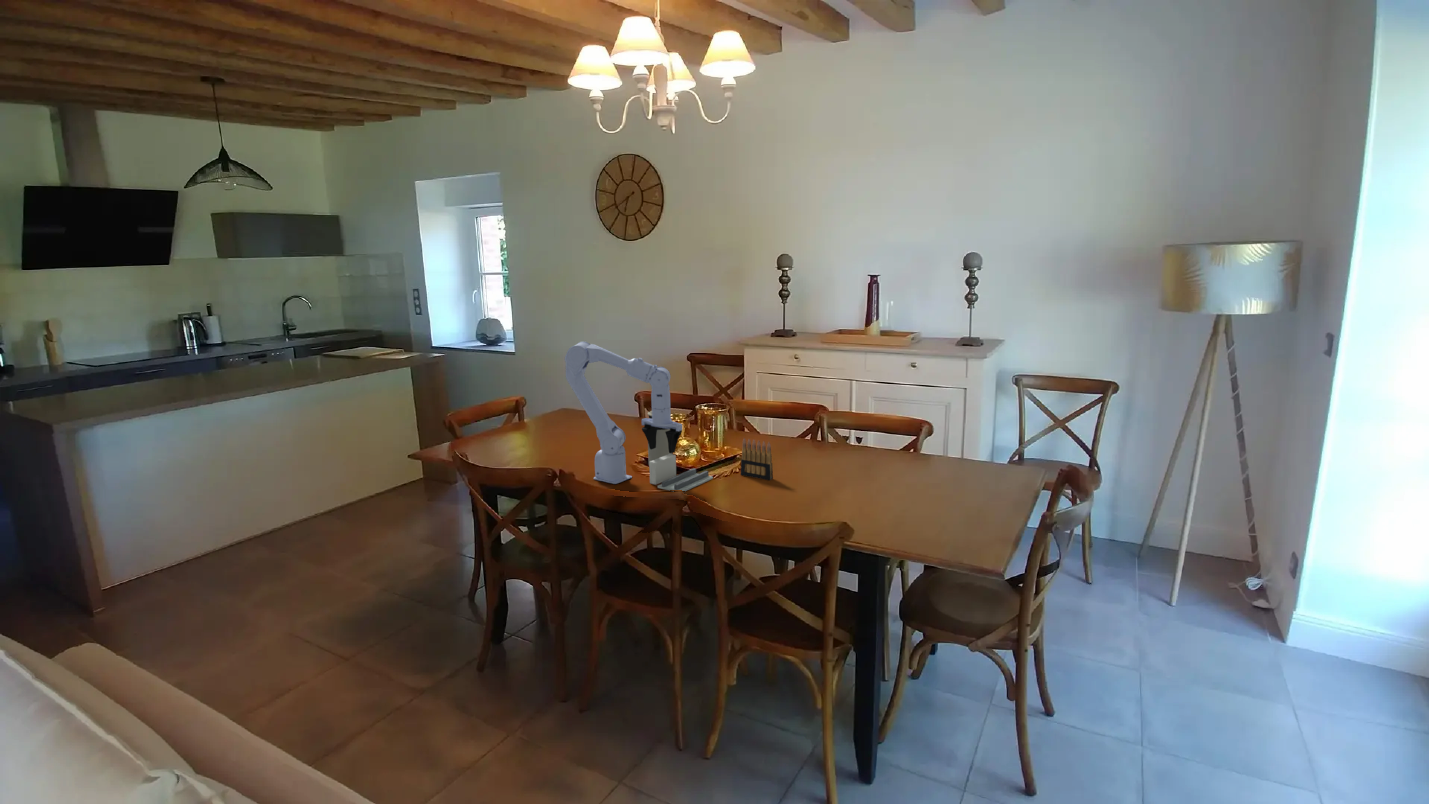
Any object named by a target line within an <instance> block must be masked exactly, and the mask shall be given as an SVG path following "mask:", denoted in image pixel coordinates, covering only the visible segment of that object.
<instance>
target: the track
mask: <svg viewBox="0 0 1429 804" xmlns="http://www.w3.org/2000/svg"><path fill="white" fill-rule="evenodd" d="M713 479H714V477H713V476H711V475H709V470H704V471H702V472H699V473H697V468H691V469H688V470H687V471H684V472H682V473H681V472H680V473H679V474H676V476H674V477H672V478H670V479H667V480H665V481H663V482H661V483H660V484H657V489H662V490H664V491H665V490H666V491H670V490H682V491H685V492H686V491H689V490H691V489H693V488H695V487H698V486H700V485H703V484H705V483H706V482H709V481H710V480H713Z"/></svg>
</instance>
